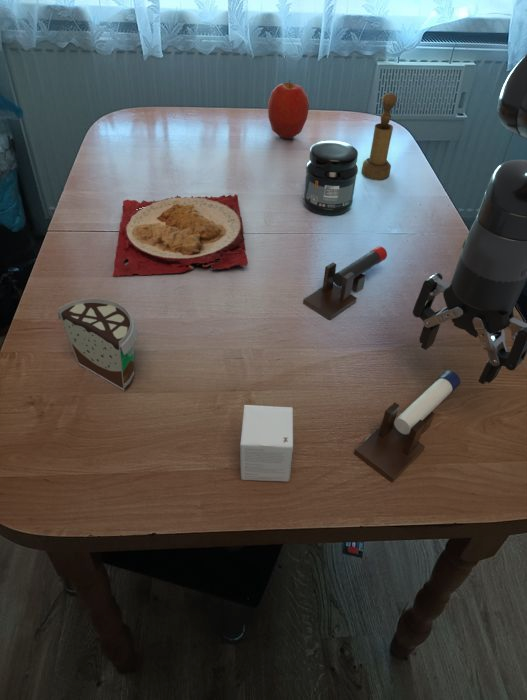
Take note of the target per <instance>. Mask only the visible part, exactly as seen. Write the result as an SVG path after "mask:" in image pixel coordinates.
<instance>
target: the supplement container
mask: <svg viewBox="0 0 527 700" xmlns="http://www.w3.org/2000/svg"><path fill="white" fill-rule="evenodd" d="M358 152H359V151H358V150H357V148H355V147H354V146H353V145H351V144H349V143H347V142H343V141H338V140H325V141H324V140H323V141H318V142H316V143H313V144H312V145H311V147H310V148H309V160H307V162H306V164H305V170H306V171H305V181H304V191H303V199H302V200H303V203H304V205H305V206H306V208H307V209H309V210H310V211H311V212H313V213H316V214H320V215H322V216H323V215H324V216H337V215H341V214H344V213H346V212H347V211H350V209H351V207H352V205H353V201H354V200H353V199H354V192H355V187H356V180H357V175H358V173H359V172H358V171H359V168H358V165H357V162H358V157H359V155H358V154H359V153H358Z"/></svg>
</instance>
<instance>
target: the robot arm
mask: <svg viewBox="0 0 527 700" xmlns="http://www.w3.org/2000/svg"><path fill="white" fill-rule="evenodd" d="M497 116H498V120H499V122H500V124H501V126H503V127H504V128H505V129H506V130H507V131H509V132H511V133H513V134H515V135H516V136H518V137H521V138H523V139H525V140H527V53H526V54H525V55H524V56H523V57H522V58H521V59H520V60H519V61H518V62H517V64H515V66H514V67H513V68H512V70H511V71H510V73H509V74H508V76H507V77H506V79H505V81H504V82H503V85H502V88H501V90H500V93H499V96H498V100H497ZM461 248H462V249H461V253H460V256H459V259H458V261H457V264H456V267H455V270H454V273H453V276H452V279H451V281H450V283H448V282H446V280H443V275H442V274H441V273H440V272H435V273H434V274H432V275H431V276H429V277H428V278H427V279H425V280H424V281H423V283H422V286H421V287H420V291H419V294H418V296H417V299H416V301H415V304H414V306H413V309H412V315H413V317H415V318H419V319H420V320H422V324H423V327H422V330H421V333H420V336H419V344H421V345H420V348H421V349H423V350H424V351H427V350H428V349H429V348H431V346H433V344H434V343H435V341H436V337H437V335H438V332H439V329H440V326H441V324H444V323H446V322H449V321H451V322H452V323H453V327H456V328H458V329H460V330H464V331H465V332H466V333H468V334H469V335H470V336H472V337H474V338H477V337H478V339H479V342H480V345H481V349H482V350H484V351H485V352H486V355H487V358H488V360H487V361H486V363H485V366H484V368H483V370H482V372H481V374H480V376H479V378H478V381H477V382H478V383H480V384H481V385H485V384H486V383H488V384H490V383H491V382H493V381H494V380H495V379H496V378H497V377H498V375H499V373H500V371H501V368H502V367H505V368H506V369H507V371H515V369H517V368H518V366H519V365H520V364H521V363H522V362H524V360H525V358H526V356H527V322H525V321H522V320H520V319H519V318H516V317H515V315H514V310H515V307H516V304H517V302H518V300H519V298H520V296H521V293H522V291H523V289H524V287H525V285H526V283H527V159H511V160H507V161H504V162H502V163H501V164H499V165H498V166H497V167H496V168H495V170H494V171H493V173H492V174H491V177H490V179H489V181H488V184H487V186H486V189H485V193H484V195H483V198H482V200H481V204H480V205H479V209H478V211H477V215H476V217H475V220H474V221H473V223H472V225H471V226H470V229H469V231H468V234H467V236H466V238H465V240H464V241H463V244H462V247H461ZM440 294H442V295H443V299H444V303H445V306H444V307H442V308H439V309H438V310H435V311H434V310H433V308H432V306H433V303H434V301H435V298H436V297H437V296H439V295H440ZM507 328H508V329H510V332H511V334H510V336H511V340H512V341H513V343H512V346H511V349H510V351H509V350H508V347H507V343H506V337H507V335H506V332H505V330H506V329H507Z"/></svg>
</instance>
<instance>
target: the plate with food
mask: <svg viewBox="0 0 527 700" xmlns="http://www.w3.org/2000/svg"><path fill="white" fill-rule="evenodd" d="M142 207H146V208H142ZM139 208H142V209H139ZM136 209H138V210H136ZM243 224H244V223H243V218H242V215H241V209H240V204H239V195H238V194H234V195H231V194H229V195H227V196H226V195H224V194H223V195H220V196H210V197H209V196H207V195H206V196H191V197H188V196H187V197H186V196H183V197H182V196H180V195H176V196H175V197H172V196H171V197H168V198H164V199H161V200H157V201H156V200H152V201H151V200H150V201H147V200H144V199H143V200H141V202H139V201H137V200H136V199H132V200H131V199H124V200H123V201H122V215H121V221H120V222H119V229H118V238H117V245H116V250H115V258H114V261H113V262H114V265H113V273H112V276H115V277H116V276H117V277H118V278H119V277H121V276H129V277H132V276H133V275H139V276H150V275H162V274H163V275H164V274H166V275H167V274H181V273H186V272H188V271H192V270H194V269H195V267H194V265H193V264H196V266H199V265H200V264H201V265H202V267H203V268H208V267H210V266H211V270H224V269H230V268H234V267H236V266H240V267H242V268H244V267H246V266H248V264H249V261H248V257H247V253H246V243H245V236H244V234H245V231H244V225H243ZM126 260H127V261H128V262H127V263H126V264H125V263H124V262H125V261H126Z"/></svg>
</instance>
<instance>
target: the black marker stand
mask: <svg viewBox="0 0 527 700" xmlns="http://www.w3.org/2000/svg"><path fill="white" fill-rule="evenodd" d="M336 271H337V263H335V262H331V263H329V264H327V265H326V266H325V267H324V275H323V282H322V286H321V287H320V288H318V289H317V290H315V291H314V292H312V293H310V294H309V295H307V296H306V297H304V298H303V300H302V304H303V305H305V306H306V307H308V308H309V309H311V310H313V311H314V312H316V313H317V314H319V315H321V316H322V317H323V318H325V319H327V320H329V321H332V320H333V319H334V318H335V317H337V316H339V315H340V314H342V313H343V312H344V311H346V310H347V309H349V308H350V307H352V306H354V305H355V304H356V303H357V300H358V297H357V296H355V295H353V294H352V292H353V293H355V294H358V293H359V292H360V291H361V290H363V289H364V286H365V285H364V284H365V281H366V274H364V273H362V274H360V275H359V276H357V277H356V278H354V275H355V274H353V273H351V272H350V273H349V274H347V275H346V276H344V277H343V283H342V287H339V286H337V285H336V284H335V283H334V281H333V275H334V274H336Z"/></svg>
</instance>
